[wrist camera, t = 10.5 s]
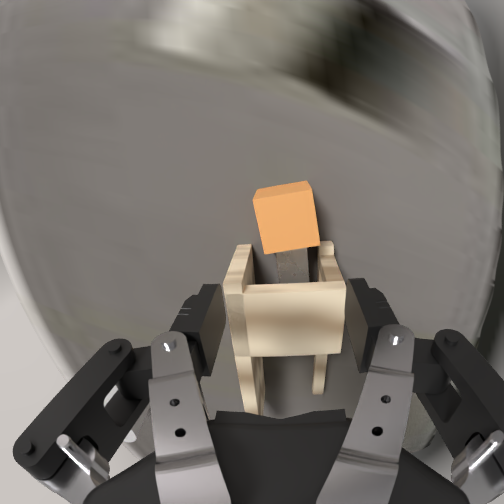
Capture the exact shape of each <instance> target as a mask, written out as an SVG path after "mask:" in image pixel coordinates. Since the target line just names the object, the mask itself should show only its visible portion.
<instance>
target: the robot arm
mask: <svg viewBox="0 0 504 504" xmlns="http://www.w3.org/2000/svg"><path fill="white" fill-rule="evenodd" d="M344 315H345V322H346V326H347V329H348V333H349V337H350V340H351V344H352V348H353V351H354V355H355V359H356V363H357V367H358V371H359V373H364V372H367V373H368V374H367V377H366V380H365V383H364V387H363V390H362V393H361V396H360V399H359V402H358V405H357V408H356V411H355V414H354V416H353V419H352V418H346V415H345V409H339V410H327V411H313V412H310V413H306V414H302V415H298V416H294V417H289V418H285V419H275V418H270V417H266V416H261V415H257V414H252V413H248V412H228V411H217V413H216V417H215V419H214V420H210V416H209V413H208V410H207V406H206V403H205V399H204V396H203V392H202V388H201V385H200V380H201V377H202V376H211V373H212V370H213V366H214V363H215V359H216V356H217V352H218V349H219V345H220V342H221V338H222V335H223V331H224V328H225V323H226V314H225V307H224V301H223V295H222V289H221V285H220V284H203V286H202V288H201V290H200V292H199V294H198V295H192V296H191V297H189V298H188V299H187V300H186V301H185V302H184V304H183V306H182V308H181V309H180V311H179V313H178V315H177V317H176V319H175V321H174V323H173V324H172V326H171V328H170V330H169V332H165V333H162V334H160V335H158V336H157V337H155V338H154V339H153V341H152V343H151V346H148V347H141V348H134V349H133V348H132V345H131V343H130V342H129V341H128V340H126V339H114V340H111V341H109V342H107V343H106V344H104V345H103V346H102V347H101V348H100V349H99V350H98V351H97V352H96V354H95V355H94V356H93V357H92V358H91V359H90V360H89V361H88V362H87V363H86V364H85V365H84V366H83V367H82V368H81V369H80V370H79V371H78V372H77V373H76V374H75V376H74V377H73V378H72V379H71V380H70V381H69V382H68V383H67V384H66V385H65V386H64V387H63V389H62V390H61V391H60V392H59V393H58V394H57V395H56V396H55V397H54V398H53V399H52V401H51V402H50V403H49V404H48V405H47V406H46V407H45V408H44V409H43V411H42V412H41V413H40V414H39V415H38V416H37V417H36V418H35V419H34V421H33V422H32V423H31V424H30V425H29V426H28V427H27V429H26V430H25V431H24V432H23V433H22V434H21V436H20V437H19V438H18V439H17V440H16V442H15V444H14V447H13V456H14V459H15V460H16V462H17V463H18V464H19V465H20V466H22V467H23V468H24V469H25V470H26V471H28V472H29V473H30V474H31V475H32V476H33V477H34V478H35V479H36V480H38V481H39V482H40V483H42V484H43V485H44V486H46V487H47V488H48V489H50V490H51V491H53V492H54V493H57V494H58V495H60V496H61V497H63V498H64V499H66V500H67V501H68V502H70V503H71V504H487V503H489V502H491V501H493V500H494V499H496V498H497V497H498V496H500V495H501V494H503V493H504V381H503V379H502V378H501V377H500V376H499V375H498V373H497V372H496V371H495V370H494V369H493V368H492V366H491V365H490V364H489V363H488V362H487V361H486V360H485V358H484V357H483V356H482V355H481V354H480V353H479V352H478V351H477V350H476V348H475V347H474V346H473V345H472V344H471V343H470V342H469V341H468V340H467V339H466V338H465V337H464V336H463V335H462V334H461V333H460V332H458V331H455V330H451V329H444V330H441V331H439V332H437V333H436V335H435V338H434V340H429V339H419V338H415V337H414V334H413V332H412V331H411V330H410V329H409V328H407V327H405V326H403V325H400V324H399V322H398V321H397V319H396V317H395V315H394V313H393V311H392V309H391V307H390V305H389V304H388V302H387V300H386V298H385V296H384V295H383V293H381V292H380V291H379V290H377V289H376V288H369V287H368V285H367V283H366V281H365V279H364V278H355V279H348V280H347V285H346V298H345V309H344ZM451 380H452V381H453V383H454V384H455V385H456V387H457V388H458V389H459V391H460V393H461V397H460V396H459V395H458V393H457V392H456V390H455V389H454V388H453V386H452V385H451V383H450V382H451ZM115 385H116V386H117V388H118V390H117V391H116V393H115V394H114V395H113V396H112V398H111V399H110V400H109V402H108V403H107V404H106V405H105V407H104V400H105V398H106V396H107V395H108V394H109V392H110V391H111V390H112V389H113V387H114V386H115ZM412 392H415V393H416V394H417V396H418V398H419V399H420V401H421V403H422V404H423V406H424V408H425V409H426V411H427V413H428V414H429V416H430V418H431V419H432V421H433V423H434V425H435V426H436V428H437V430H438V431H439V433H440V435H441V437H442V439H443V440H444V442H445V444H446V446H447V447H448V449H449V451H450V453H451V455H452V457H453V458H454V461H453V463H452V466H451V473H452V475H451V480H452V482H453V483H452V482H450V481H449V480H447V479H446V478H444V477H443V476H442V475H440V474H438V473H437V472H436V471H434V470H433V469H431V468H430V467H428V466H427V465H426V464H424V463H423V462H421V461H420V460H419V459H417V458H416V457H415V456H413V455H412V454H410V453H409V452H408V451H406V450H405V449H404V448H402V444H403V440H404V435H405V430H406V425H407V420H408V415H409V409H410V403H411V397H412ZM149 402H150V409H151V419H152V429H153V437H154V445H155V451H154V452H152V453H151V454H149V455H148V456H146V457H145V458H143V459H141V460H140V461H138V462H137V463H135V464H134V465H132V466H131V467H129V468H127V469H126V470H124V471H122V472H121V473H119V474H117V475H116V476H114V477H112V478H111V479H110V476H109V471H110V467H109V463H108V462H109V461H110V460H111V458H112V457H113V455H114V454H115V452H116V451H117V449H118V448H119V446H120V445H121V443H122V442H123V441H124V439H125V438H126V436H127V435H128V433H129V432H130V430H131V429H132V427H133V426H134V424H135V423H136V421H137V420H138V419H139V417H140V416H141V414H142V413H143V411H144V410H145V408H146V407H147V405H148V404H149Z"/></svg>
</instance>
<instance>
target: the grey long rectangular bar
mask: <svg viewBox="0 0 504 504" xmlns="http://www.w3.org/2000/svg"><path fill="white" fill-rule="evenodd" d="M276 260H277V269H278V277H279V284H288V283H309V270H308V255H307V248H301V249H294V250H288V251H282V252H276Z"/></svg>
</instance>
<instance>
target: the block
mask: <svg viewBox="0 0 504 504" xmlns="http://www.w3.org/2000/svg"><path fill="white" fill-rule="evenodd" d="M253 204H254V208H255V213H256V217H257V222H258V226H259V231H260V235H261V240H262V245H263V249H264V254H270V253H276V252H282V251H288V250H294V249H301V248H307V247H313V246H319V245H320V239H319V232H318V225H317V218H316V212H315V205H314V199H313V193H312V189H311V187H310V185H309V184H308V182H307V181H302V182H296V183H290V184H284V185H278V186H273V187H268V188H262V189H257V191H256V194H255V196H254V198H253Z"/></svg>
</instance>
